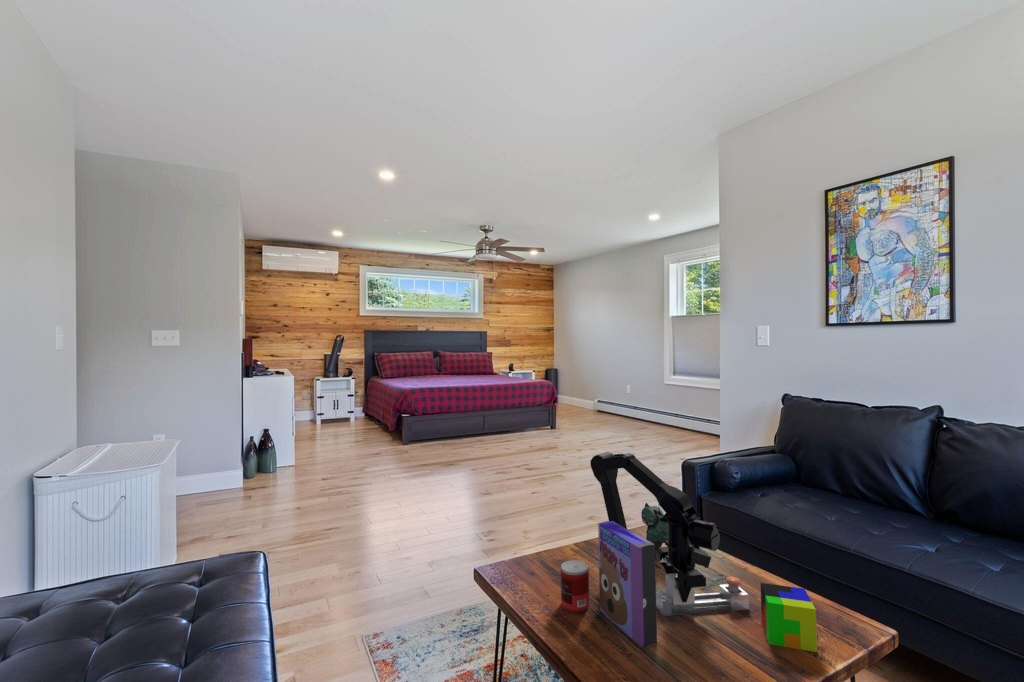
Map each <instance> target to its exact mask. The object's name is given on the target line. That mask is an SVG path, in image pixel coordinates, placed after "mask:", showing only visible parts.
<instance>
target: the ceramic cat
mask: <svg viewBox="0 0 1024 682" xmlns="http://www.w3.org/2000/svg"><path fill="white" fill-rule="evenodd" d="M660 508H661V507H660V506H656V505H652V506H651V505H649V503H647V502H646V503H645V504H644V507H643V508H642V509H641V521H642V523H644V524H645V525H646V526H647V528H646V532H645V533H646V538H645V539H646V540H648V541H649V542H651V543H653V544H655V559H657V558H656V549H657V548H658V547H663V546H662V545H663V544H665V541H668V525H667V522H663V521H660V518H662V517H663V516H664V515H665V513H664V512H663V510H662V508H661V509H660ZM695 567H696V565H695V566H693V567H691V566H689V567H688V568H690V569H696V568H695Z"/></svg>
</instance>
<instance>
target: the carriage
mask: <svg viewBox="0 0 1024 682" xmlns="http://www.w3.org/2000/svg"><path fill="white" fill-rule="evenodd" d="M674 578H678V573H672V574H665V593H666V594H667V595H668V597H669V598H670V599H671V602H672V603H673V605H679V604H692V603H695V594H696V592H695V590H696V589H695V587H692V588H691V590H690V593H689V596H688V599H687V602H682V600H681V597H680V594H679V591H678V588H677V585H676V582H675V579H674Z"/></svg>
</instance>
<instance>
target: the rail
mask: <svg viewBox="0 0 1024 682" xmlns="http://www.w3.org/2000/svg"><path fill="white" fill-rule="evenodd" d="M718 588H719V589H718V591H719V592H709V593H708V592H707V593H695V603H692V604H679V605H673V603H672V602H671V599H670V598H669V597H668V595H667V594H666V591H664V589H662V588H656V610H658V611H659V613H660V614H661V615H662V616H663V617H666V616H667V617H668V616H680V615H683V616H684V615H692V614H693V615H694V614H695V615H696V614H704V613H705V614H706V613H720V612H721V613H722V612H731V611H732V612H734V611H746V610H750V608H749V607H750V606H749V605H750V602H749V601H750V600H749V598H750V597H749V594H748V593H747V592H746V591H745V590H744V589H742V588H741V587H740V586H739V593H730V592H729V591H728V583H725V584H719V586H718Z"/></svg>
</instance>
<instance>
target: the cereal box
mask: <svg viewBox="0 0 1024 682" xmlns="http://www.w3.org/2000/svg"><path fill="white" fill-rule="evenodd" d="M597 526H598V528H597V529H598V530H597V531H598V536H597V537H598V572H599V573H598V574H599V575H598V576H599V577H598V578H599V579H598V581H599V582H598V583H599V586H598V587H599V611H600V612H601V614H603V616H605V617H606V618H607V619H608V620H609V621H611V622H612V623H613V624H614V625H615V626H616V627H617V628H618V629H620V630H621V631H622V632H623V633H624V634H625V635H626V636H627V637H628V638H629V639H631V640H632V641H633V642H634V643H635V644H636V645H637V646H638V647H640V648H646V647H648V646H652V645H654V644H657V643H658V629H657V628H658V624H657V619H658V618H657V607H656V589H657V580H656V578H657V576H656V572H657V571H656V558H655V544H653V543H651V542H649V541H648V540H646V538H645V537H642V536H641V535H639V534H637V533H635V532H633V531H632V530H630V529H628V528H627V529H626V528H624V527H623V526H621V525H619V524H617V523H615V522H614V521H609V520H607V521H606V520H605V521H603V522H599V523H598V524H597Z"/></svg>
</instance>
